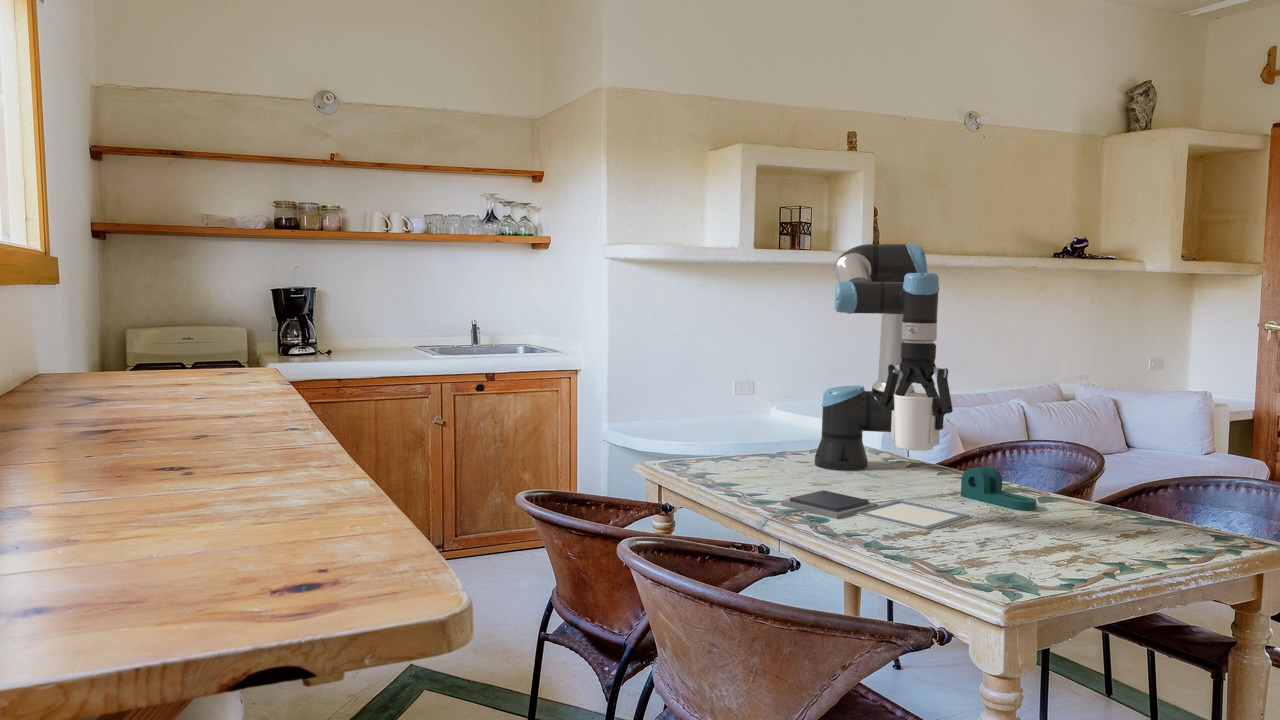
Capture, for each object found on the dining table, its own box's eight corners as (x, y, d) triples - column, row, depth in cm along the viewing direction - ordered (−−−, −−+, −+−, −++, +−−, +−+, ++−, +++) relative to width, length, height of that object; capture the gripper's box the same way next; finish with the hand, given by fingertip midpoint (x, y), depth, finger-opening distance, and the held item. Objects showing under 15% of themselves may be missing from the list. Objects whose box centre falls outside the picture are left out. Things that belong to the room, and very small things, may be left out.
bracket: (960, 497, 222) (962, 466, 222) (978, 494, 226) (979, 463, 225) (1024, 513, 207) (1025, 479, 206) (1042, 509, 210) (1043, 477, 210)
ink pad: (821, 495, 220) (822, 488, 220) (877, 507, 209) (877, 500, 208) (780, 505, 210) (780, 497, 210) (836, 518, 198) (837, 510, 198)
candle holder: (931, 444, 205) (933, 393, 204) (941, 452, 195) (943, 398, 194) (888, 443, 206) (890, 391, 205) (895, 450, 196) (898, 396, 195)
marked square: (897, 501, 215) (897, 499, 215) (971, 517, 201) (971, 515, 201) (852, 513, 203) (852, 511, 203) (927, 531, 189) (927, 529, 189)
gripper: (867, 339, 204) (863, 436, 206) (955, 345, 188) (950, 449, 190) (885, 338, 209) (882, 433, 211) (973, 344, 193) (968, 446, 195)
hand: (914, 440), depth 201 cm, fingers closed on candle holder, 9 cm apart
